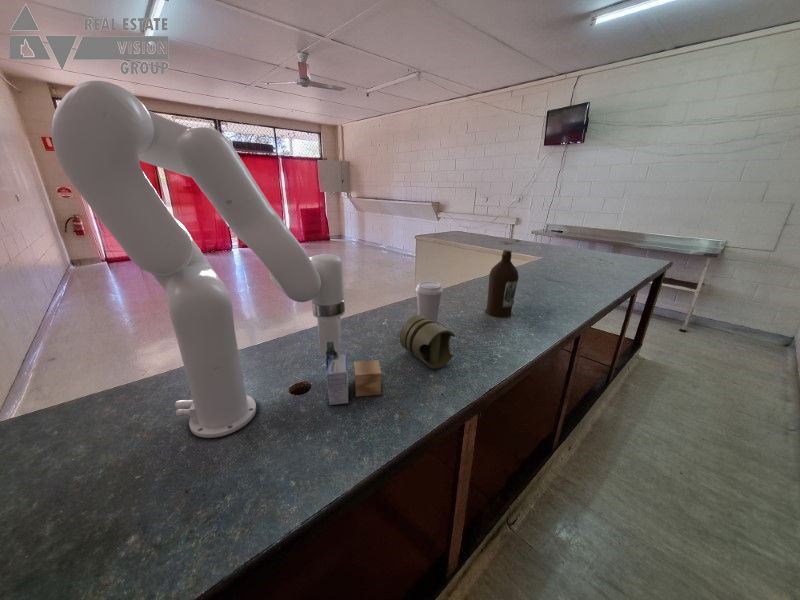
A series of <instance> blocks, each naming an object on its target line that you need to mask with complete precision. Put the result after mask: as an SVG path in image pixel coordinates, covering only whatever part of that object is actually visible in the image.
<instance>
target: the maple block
mask: <svg viewBox="0 0 800 600" xmlns="http://www.w3.org/2000/svg"><path fill="white" fill-rule="evenodd" d="M353 365H354V388H355V389H354V391H355V397H365V396H366V397H367V396H368V397H369V396H379V395H382V372H381V366H380V361H379V359H372V360H371V359H370V360H358V361H357V360H356V361H354V362H353Z"/></svg>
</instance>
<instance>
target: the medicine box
mask: <svg viewBox="0 0 800 600" xmlns="http://www.w3.org/2000/svg"><path fill="white" fill-rule="evenodd" d="M348 372H349V371H348V356H347V354H346V353H344V354H343V353H342V354H341V353H340V354H339V356H337V355H334V359H328V370H327V369H326V385H327V395H328V405H330V406H336V405H343V404H349V400H350V399H349V373H348Z"/></svg>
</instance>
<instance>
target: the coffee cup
mask: <svg viewBox="0 0 800 600" xmlns="http://www.w3.org/2000/svg"><path fill="white" fill-rule="evenodd" d="M415 292H416V302H417V315H422V316H424V317H426V318H428V319H430V320H431V321H433V322H435V323H436V324H438V323H437V322H438V316H439V310H440V305H441V297H442V294H443V293H444V289H443V287H442V284H441V283H439V282H437V281H430V280H426V281H424V280H423V281H420V282H418V284H417V285H416V287H415Z"/></svg>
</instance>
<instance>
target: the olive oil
mask: <svg viewBox="0 0 800 600" xmlns="http://www.w3.org/2000/svg"><path fill="white" fill-rule="evenodd" d="M512 253H513V251H512V250H509V249H504V250H502V254H501V260H500V261H499V262H498V263H496V264H495V265H494V266H493V267H492V268H490V271H489V275H488V286H487V287H488V289H487V301H486V309H485V310H486V313H487V314H488V315H489V316H491V317H492V316H493V317H497V318H507V317H510V316H511V315H512V311H513V310H512V309H513V306H514V303H515V295H516V291H517V287H518V281H519V271H518V269H517V268H516V266H515V265H514V264H513V262H512Z"/></svg>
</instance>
